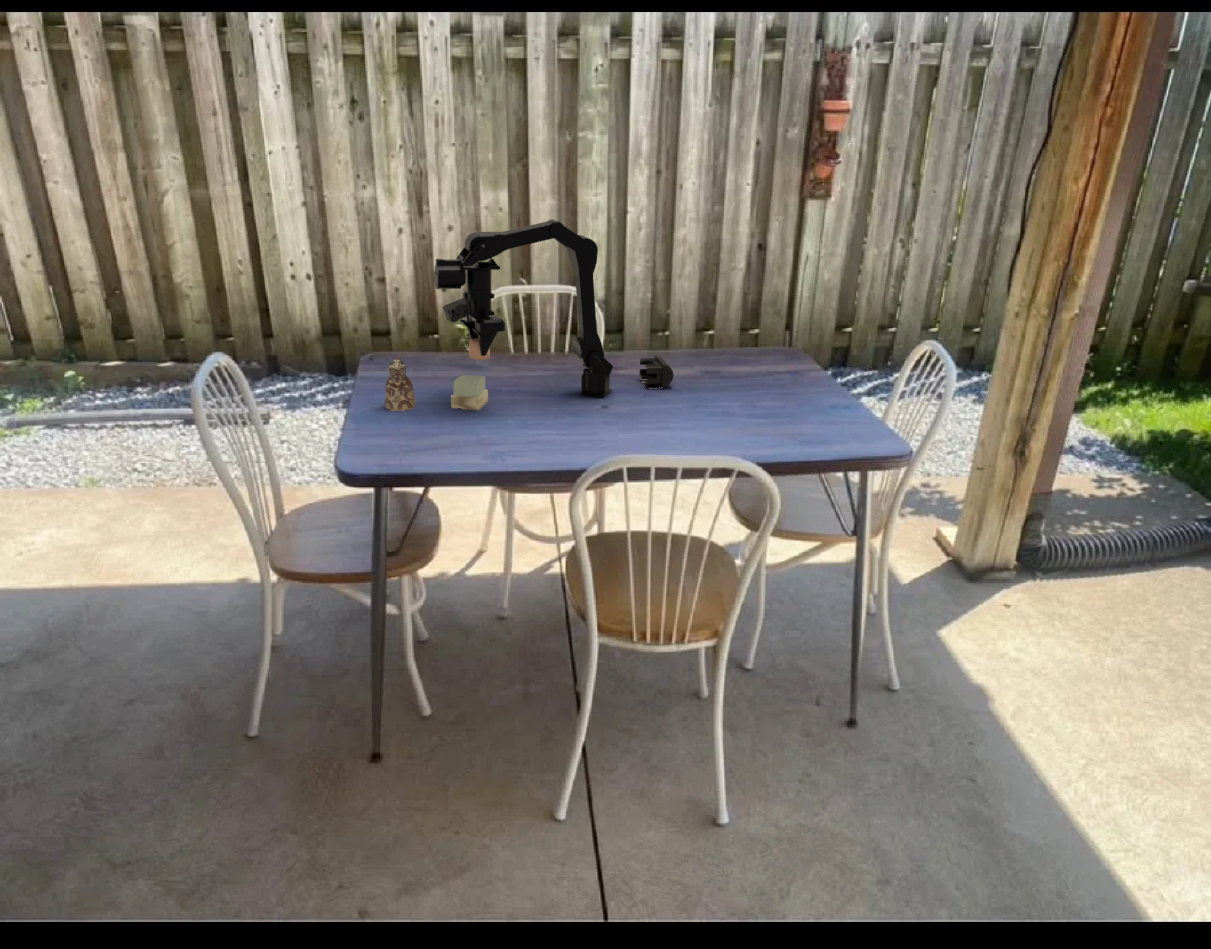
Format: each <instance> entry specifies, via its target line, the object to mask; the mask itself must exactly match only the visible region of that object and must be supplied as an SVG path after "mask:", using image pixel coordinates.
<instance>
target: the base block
mask: <svg viewBox="0 0 1211 949" xmlns="http://www.w3.org/2000/svg"><path fill="white" fill-rule="evenodd" d="M487 402H489V390H488V389H485V391H484V392H483V393H482V394H481V395H480V396H479V397H478V398H476V397H464V396H454V392H453V394H451V395H450V405H451V406H450V407H451V409H457V408H461V409H460V410H467V409H468V411H479V412H480V410H481V409H482V408H483V407H484V406H486V404H488V403H487Z"/></svg>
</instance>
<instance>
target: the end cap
mask: <svg viewBox="0 0 1211 949" xmlns="http://www.w3.org/2000/svg"><path fill="white" fill-rule="evenodd" d="M639 365H640V366H645V368H640V369H639V378H642V379H647V380H641V381H644V382H645V383H643V384H644V385H645V387H646V388H659V387H660V388H661V387H665V388H666V387H668V386H670V385H671V383H672V381H673V379H674V371H673V369H672V367H671V366H669V364H668V363H667V362H666V361H665V360H664V358H663V357H661V356H660V355H657V354H656V355H655V354H654V356H653V357H650V358H649V357H646V358H645V357H644V358H639ZM641 381H640V382H641ZM643 384H642V385H643ZM644 385H643V386H644ZM645 387H644V388H645ZM646 388H645V389H646Z"/></svg>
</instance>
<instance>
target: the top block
mask: <svg viewBox="0 0 1211 949" xmlns="http://www.w3.org/2000/svg"><path fill="white" fill-rule="evenodd" d="M452 385H453V393H454V396H464V397H476V398H478V397H479V396H480V395H481V394H482V393H483V392H484V391H485V390H486V376H479V375H471V374H470V375H468V374H467V375H466V374H461V375H459V376H458V377H457V378H456V379H455V380H454V381H453V384H452Z"/></svg>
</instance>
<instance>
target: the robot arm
mask: <svg viewBox="0 0 1211 949" xmlns="http://www.w3.org/2000/svg"><path fill="white" fill-rule="evenodd" d="M552 239H553V240H555V241H557V242H558V243H559V244H561V245H562V246H564V247H565V248H566V250H567V254H568V257H569V262H570V265H571V267H572V270H573V272H574V276H575V277H574V278H575V292H576V305H577V319H578V333H577V336H572V337H571V341H572V345H573V346H572V351H571V352H572V353H573V354H574V355H575V357H576V359H577V360H578V361H579V362H581V364H582V367H584V369H582V374H581V380H580V390H581V391H580V392H579V394H580V395H583V396H590V397H594V398H595V397H596V398H604V397H606V396H607V395H609V394H610V393H612V391H613V389H612V388H610V386H611V385H610V382H611V380H610V379H611V374H612V371H613V369H614V365H613V364H612V363H610V361H608V360H607V359H606V358H605V352H604V349H603V344H602V341H601V338H600V336H599V333H598V329H597V316H596V299H595V284H594V281H595V280H594V273H595V269H596V267H597V263H598V253H599V252H598V251H599V247H598V245H597V242H596V241H594V240H593V239H591V238H589V237H586V236H584V235H583V234H577V233H575V232H574V231H573V230H571V229H569V228H568V227H567V226H565V225H564V224H563V223H562V222H561V221H558V220H556V219H549V220H547V221H543V222H539V223H535V224H530V225H526V226H522V227H517V228H514V229H513V228H512V229H508V230H505V231H474V232H471V233H469V234H468V235H467V237H466V238H465V239H464V240H465V241H464V246H463V248H462V250H460V252H459V254H458V255H457V256H456V258H455V259H444V258H435V265H434V271H433V282H434V283H433V284H434V287H435V289H436V290H453V289H455V290H457V289H458V290H459V289H460V290H461V288H462V287H463V286H464V285H465V284H466V291H465V290H464V292H463V293H462V296H463V297H462V298H460V299H456V300H454V301H452V302H450V303H448V304H445V305H443V306H442V310H443V312H444V315H445V318H446V320H448V321H449V322H450V323H456V322H458V321H459V322H460V323H462V325H464V326H465V328H467V333H468V335H469V340H470V339H476V338H478V339H479V346H480V352H481V356H486V354H487V352H488V350H489V348H490V349H491V345H492V344H493V341H494V340H495V338H496V336H497V334H498V333H499V332H505V331H506V322H505V321H504V320H503V319H502V318H501V317H498V316H497V315H496V316H495V311H494V310H493V309H492V299H495V293H493V292H492V271H495V270H496V271H499V270H500V269H501V266H499V264H497V262H496V261H495V259H494V257H497V256H499V255H500V254H502V253H504V252H505V251H507V250H511V249H514V248H519V247H522V246H523V247H524V246H528V245H530V244H531V245H532V244H537V243H541V242H544V241H548V240H552Z"/></svg>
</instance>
